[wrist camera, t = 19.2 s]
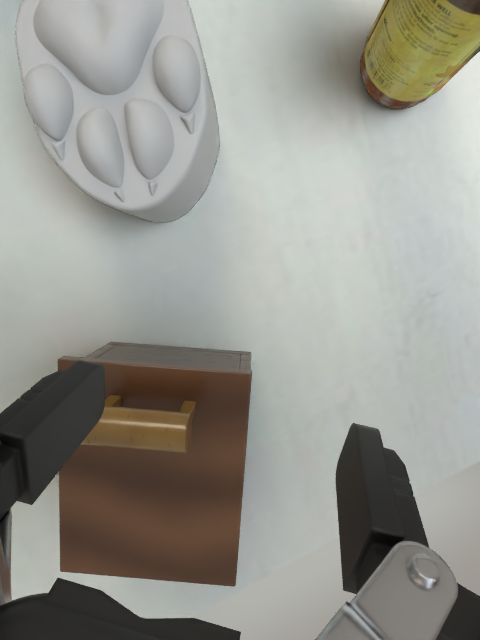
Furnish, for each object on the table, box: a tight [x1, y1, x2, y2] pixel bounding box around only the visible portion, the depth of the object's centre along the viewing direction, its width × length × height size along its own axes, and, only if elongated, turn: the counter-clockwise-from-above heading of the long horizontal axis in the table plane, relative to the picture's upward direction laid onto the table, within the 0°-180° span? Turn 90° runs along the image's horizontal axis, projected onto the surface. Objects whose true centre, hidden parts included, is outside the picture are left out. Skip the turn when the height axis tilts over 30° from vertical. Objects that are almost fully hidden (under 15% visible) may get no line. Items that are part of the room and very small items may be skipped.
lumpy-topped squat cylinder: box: [15, 0, 220, 223], centre depth 24 cm, size 10×13×9 cm
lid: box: [58, 356, 252, 586], centre depth 22 cm, size 14×12×5 cm
